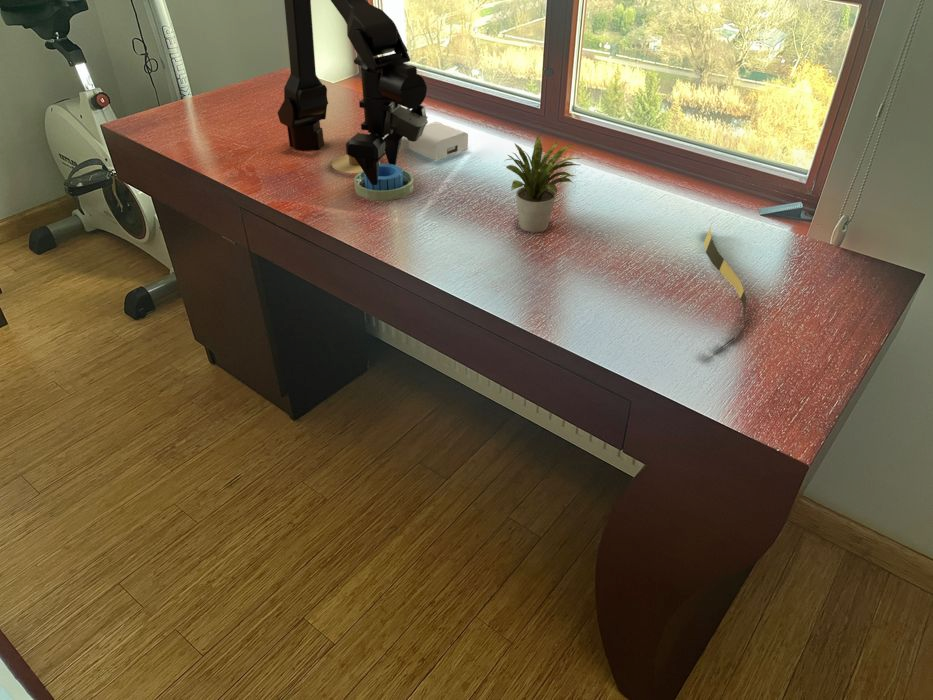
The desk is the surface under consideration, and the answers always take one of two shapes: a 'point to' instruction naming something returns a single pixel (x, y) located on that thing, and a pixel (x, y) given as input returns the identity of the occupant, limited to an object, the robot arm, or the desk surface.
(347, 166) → the tape holder
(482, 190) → the desk surface
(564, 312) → the desk surface
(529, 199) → the house plant
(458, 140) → the charger
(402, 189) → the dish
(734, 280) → the tape
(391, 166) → the blue gear
